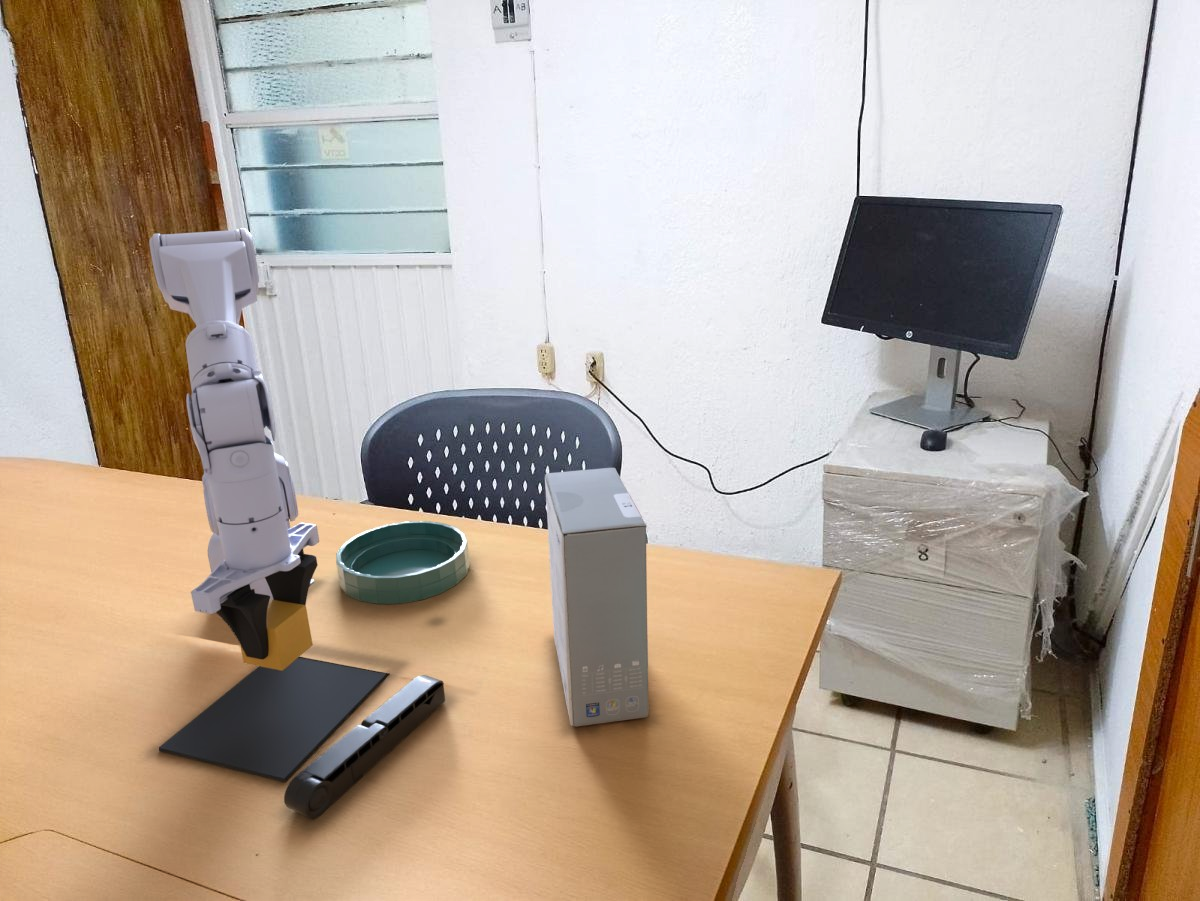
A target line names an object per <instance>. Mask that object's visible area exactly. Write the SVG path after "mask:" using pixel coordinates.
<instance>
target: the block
mask: <svg viewBox="0 0 1200 901" xmlns="http://www.w3.org/2000/svg"><path fill="white" fill-rule="evenodd" d="M266 626H267V634H268V642H269V652H268V656H267V657H266V658H265V659H257V658H252V657H247V656H246V654H245V652H244V650H243V648H242V647H241V645H240V644H239V647H240V652H241V657H242V661H243V664H246V665H250V666H256V667H259V666H261V667H266V668H271V669H276V670H281V671H283V670H284V669H285V668H286V667H288V666H289V665H290V664H291V663H292V662H293V661H295V660H296V659H297V658H298V657H302V656H303V654H304V653H306V651H308V650H309V649H310V648H311V647H313V645H314V644H313V638H312V634H311V628H310V622H309V616H308V610H307V604H306V605H302V604H295V603H289V602H283V601H277V600H271V599H270V600H269V603H268V609H267V619H266Z"/></svg>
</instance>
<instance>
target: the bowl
mask: <svg viewBox="0 0 1200 901" xmlns="http://www.w3.org/2000/svg"><path fill="white" fill-rule="evenodd" d="M468 543H469V542H468V538H467V536H466V534H465V533H464V532H463V531H462V530H460V529H459V528H458V527H456V526H453V525H450V524H447V523H444V522H438V521H430V520H411V521H410V520H409V521H400V522H394V523H388V524H385V525H381V526H377V527H374V528H370V529H368V530H365V531H363V532H361V533H358V534H356V535H354V536H353V537H351V538H350V539H348V540H347V541H345V543H343V544H342V545H341V546H340V548H339V549H338V550H337V552H336V555H335V562H336V570H337V575H338V581H339V582H338V583H339V587H340V589H341V590H342V591H343V592H344V594H345V595H346V596H348V597H350V598H353V599H354V600H357V601H358V602H363V603H370V604H377V605H401V604H406V603H407V604H408V603H413V602H417V601H423V600H425V599H428V598H429V599H430V598H431V597H434V596H438V595H440V594H443V593H445V592H446V591H448V590H450V589H452V588H453V587H455V586H457V585H458V584H459V583H461V581H462V580H463V579H464V578H466V576H467V575H468V572H469V569H470V566H471V563H470V556H469V555H470V553H469V544H468Z"/></svg>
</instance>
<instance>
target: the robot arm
mask: <svg viewBox="0 0 1200 901" xmlns="http://www.w3.org/2000/svg"><path fill="white" fill-rule="evenodd" d="M148 243H149V244H148V245H149V252H150V256H151V262H152V268H153V272H154V277H155V280H156V284H157V287H158V290H159V291H160V292H161V294H162V297H163V300H164V303H166V304H168V307H169V309H170V310H172V311H176V312H179V313H184V314H188V315H189V317H190V318H191V319H192V321H193V322H194V324H195V327H194V328H193V329H192V330H191V331H190V332H189V334H188V335H187V337H186V341H185V351H186V360H187V366H188V374H189V383H190V386H191V387H190V388H191V395H190V393H189V392H188V393H186V400H185V402H186V410H187V416H188V421H189V426H190V432H191V435H192V438H193V442H194V444H195V446H196V449H197V451H198V453H199V457H200V461H201V464H202V469H203V475H202V476H201V482H202V487H203V499H204V505H205V511H206V516H207V522H208V525H209V528H210V531H211V532H212V534H211V536H210V539H209V541H208V545H207V559H208V564H209V568H210V574H209V575H208V576H207V577H206V578H205V580H204V581H202V582H201V583H200V584H199V585H198V586H197V587H195V588H193V590H191V591H190V595H191V599H192V604H193V608H194V612H199V613H204V614H211V615H214V614H215V613H216V614H217V616H219V617H220V618H221V619H222V621H224V622H225V623H226V626H228V628H229V629H230V630H231V632H232V633H233V634H234V637H235V638H236V640H237V642H238V643H239V646H240V645H241V647H242V648H243V650H244V652H245V654H246V656H247V657H252V658H257V659H265V658H266V657H267V656H268V652H269V642H268V634H267V626H266V619H267V609H268V603H269V600H270V599H271V600H277V601H283V602H289V603H295V604H302V605H306V606H307V598H308V593H309V588H310V586H311V585H313V584H314V583H315V579H313V576H314V574H315V572H316V570H317V568H318V559H317V556H316V555H313V554H309V553H305V552H304V549H305V548H306V547H307V546H309V547H314V546H316V545H318V544H319V543H320V537H319V536H320V535H319V531H318V530H319V529H318V525H317V524H313V523H305V522H299V523H298V524H296V525H294V526H292V527H291V524H290V522H295V521H296V519H297V518H298V517H299V507H298V501H297V496H296V491H295V490H296V489H295V486H294V481H293V477H292V474H291V470H290V466H289V462H288V461H286V459H285V457H284V456H282V455H280V454H278V453H276V452H275V449H274V444H273V442H275V440H276V423H275V418H274V411H273V405H272V400H271V395H270V391H269V388H268V386H267V383H266V381H265V380H264V379H265V378H264V377H263V375H262V371H261V370H260V369H259V365H258V360H257V357H256V352H255V347H254V342H253V339H252V336H251V334H250V333H249V331H248V330H246V328H244V327H243V326H242V325H240V320H241V317H242V316H241V315H242V311H243V309H244V308H246V307H248V306H250V305H252V304H254V303H256V302H257V301H258V295H259V293H260V290H259V283H260V276H259V275H260V274H259V269H258V262H257V257H256V251H255V245H254V241H253V237H252V233H251V232H249V231H248V230H247V229H246V228H245V227H239V229H231V230H229V229H228V230H217V231H216V230H215V231H214V230H213V231H200V232H183V233H181V232H180V233H167V234H160V232H159V233H158V232H157V233H153V234H152V236H151V237H150V238H149V240H148ZM266 428H267V429H268V430H269V431H270V434H271V438H269V437H268V436H267V435H266V432H265V429H266ZM271 439H272V440H271ZM241 647H240V648H241Z"/></svg>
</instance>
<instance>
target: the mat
mask: <svg viewBox="0 0 1200 901" xmlns="http://www.w3.org/2000/svg"><path fill="white" fill-rule="evenodd" d="M389 676H390V673H389V672H383V671H378V670H373V669H367V668H364V667H363V668H362V667H357V666H352V665H346V664H341V663H336V662H330V661H326V660H320V659H314V658H309V657H304V656H299V657H298V658H297V659H296V660H295V661H293V662H292V663H291V664H290V665H289V666H288V667H286V668H285V669H284V670H283V671H281V670H276V669H271V668H266V667H261V666H256V668H255V669H254V670H252V671H251V672H250V673H249V674H247V675H246V676H245V677H244V678H243V679H241V680H240V681H238V682H237V683H236V684H235V685H234V686H232V687H231V688H230V689H229V690H227V691H226V692H225V693H224V694H222V696H220V697H219V698H218V699H216V700H215V701H214V702H213V703H211V704H210V705H209V706H208V707H206V708H205V709H203V711H202V712H200V713H199V714H198V715H196V717H194V718H193V719H192V720H191V721H188V723H187V724H185V725H184V726H183V727H181V729H179V730H178V731H177V732H176V733H174V734H173V735H172V736H170V737H169V738H168V739H167V740H166V741H164V742H163V743H162V744H160V745H159V746H158V751H159V752H162V753H166V754H169V755H173V756H178V757H182V758H185V759H190V760H193V761H197V762H202V763H206V764H210V765H213V766H214V765H215V766H218V767H223V768H225V769H230V770H234V771H238V772H241V773H247V774H251V775H255V776H258V777H262V778H266V779H271V780H275V781H279V782H283V783H285V782H287V780H289V779H290V778H291V777H292V775H294V774H295V772H296V771H297V770H298V769H299V768H300V767H301V766H302V765H303V764H304V763H305V762H306V761H307V760H308V759H309V758H310V757H311V756H312V755H313V754H314V753H315V752H316V751H317V750H318V749H319V748H320V747H321V745H323V743H325V741H326V740H328V738H330V736H332V734H333V733H334V732H335V731H336V730H337V729H338V728H339V727H340V726H341V725H342V724H343V723H344V722H345V721H346V720H347V719H348V718H349V717H350V716H351V715H352V714H353V713H354V711H356V709H357V708H358V707H360V705H361V704H363V703H364V701H366V699H368V697H369V696H370V695H371V694H372V693H373V692H374V691H375V690H376V689H377V688H378V687H379V686H380V685H381V684H382V683H383V682H384V681H385V680H386V679H387V678H388V677H389Z"/></svg>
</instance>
